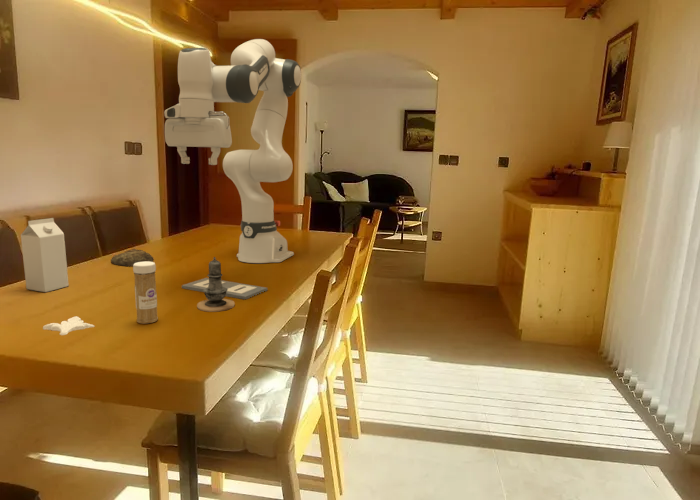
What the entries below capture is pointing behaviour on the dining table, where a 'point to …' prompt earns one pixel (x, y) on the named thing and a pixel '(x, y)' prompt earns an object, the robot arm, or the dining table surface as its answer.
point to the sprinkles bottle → (145, 292)
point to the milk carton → (44, 256)
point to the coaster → (203, 307)
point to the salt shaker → (215, 286)
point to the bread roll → (131, 257)
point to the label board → (233, 288)
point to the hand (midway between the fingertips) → (199, 164)
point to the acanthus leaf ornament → (68, 325)
